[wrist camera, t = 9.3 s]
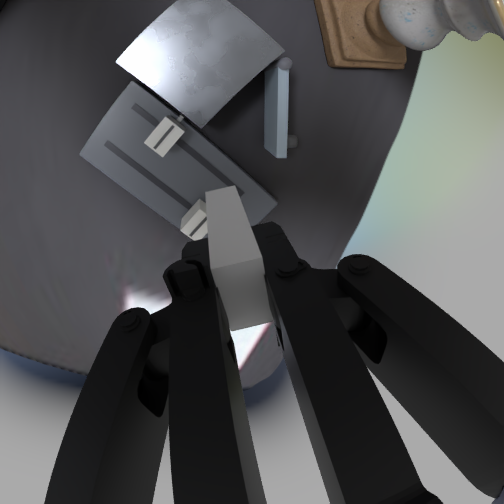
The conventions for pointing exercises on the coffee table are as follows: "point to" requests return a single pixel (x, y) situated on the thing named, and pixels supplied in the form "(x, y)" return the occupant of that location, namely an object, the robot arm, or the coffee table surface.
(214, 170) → the console
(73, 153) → the coffee table surface
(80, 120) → the coffee table surface
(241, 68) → the cabinet
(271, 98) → the door
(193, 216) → the fader
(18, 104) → the coffee table surface
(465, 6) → the candle holder
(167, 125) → the fader
